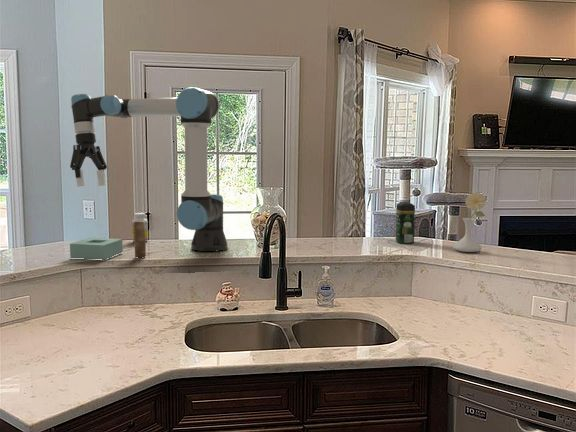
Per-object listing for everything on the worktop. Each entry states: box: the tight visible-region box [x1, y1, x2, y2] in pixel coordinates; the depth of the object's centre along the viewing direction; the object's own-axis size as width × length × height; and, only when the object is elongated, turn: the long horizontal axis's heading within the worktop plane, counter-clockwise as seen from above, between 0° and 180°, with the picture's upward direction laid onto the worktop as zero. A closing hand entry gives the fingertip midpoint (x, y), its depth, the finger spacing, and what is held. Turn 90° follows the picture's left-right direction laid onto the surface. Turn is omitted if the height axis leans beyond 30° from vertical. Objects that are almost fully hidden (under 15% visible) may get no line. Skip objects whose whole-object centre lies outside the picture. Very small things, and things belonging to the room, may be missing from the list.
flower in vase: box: [453, 191, 487, 253], centre depth 224 cm, size 13×11×25 cm
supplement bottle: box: [131, 212, 149, 242], centre depth 244 cm, size 7×7×13 cm
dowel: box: [134, 221, 147, 259], centre depth 208 cm, size 4×4×14 cm
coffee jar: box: [395, 201, 416, 245], centre depth 246 cm, size 10×8×19 cm
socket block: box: [69, 237, 124, 260], centre depth 210 cm, size 14×14×6 cm
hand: (91, 186), depth 220 cm, fingers open, 13 cm apart
